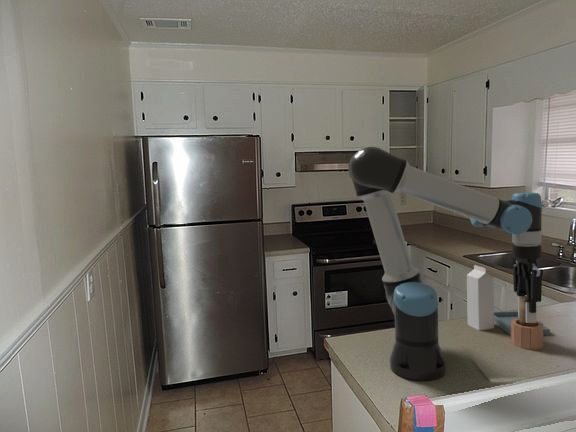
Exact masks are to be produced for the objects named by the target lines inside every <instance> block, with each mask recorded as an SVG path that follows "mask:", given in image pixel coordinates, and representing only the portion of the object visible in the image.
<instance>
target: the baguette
mask: <svg viewBox="0 0 576 432" xmlns="http://www.w3.org/2000/svg"><path fill="white" fill-rule="evenodd" d="M525 300H527V297H521V298H519V325H522V326H527V327H535V323H526V302H525Z"/></svg>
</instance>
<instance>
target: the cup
mask: <svg viewBox="0 0 576 432" xmlns="http://www.w3.org/2000/svg"><path fill="white" fill-rule="evenodd" d="M543 325H544V323H543V322H542V321H540V320H537V319H536V323H535V327H527V326H522V325H519V318H516V319H513V320H512V321H511V336H510V343H512V345H513V346H515V347H518V348H521V349H525V350H540V349H542V348H544V335H543Z"/></svg>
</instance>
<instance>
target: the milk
mask: <svg viewBox="0 0 576 432" xmlns="http://www.w3.org/2000/svg"><path fill="white" fill-rule="evenodd" d="M494 281H495V280H494V276H493V275H491V274H489V273H487V269H486V268H485V267H482V266H479V265H477V264H475V265H473V269H472V270H471V271H470V272H469V273H467V274H466V299H467V301H466V307H467V309H466V310H467V311H466V313H467V325H468V326H470V327H471V328H472V329H475V330H478V331H485V330H486V331H487V330H491V329H494V328H495V322H494V312H495V310H494V309H495V308H494V307H495V299H494V297H495V294H494V293H495V292H494V287H495V285H494Z"/></svg>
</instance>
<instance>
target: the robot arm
mask: <svg viewBox="0 0 576 432" xmlns="http://www.w3.org/2000/svg"><path fill="white" fill-rule="evenodd" d="M348 174H349V177H350V178H351V180H352V185H353V187H354V190H355V193H356V197H357V198H358V199H359V200H362V201H363V203H364V207H365V210H366V213H367V216H368V220H369V224H370V226H371V229H372V233H373V236H374V240H375V244H376V247H377V250H378V253H379V257H380V260H381V264H382V267H383V270H384V274H383V276H381V277H382V278H381V280H382V283H383V287H384V290H385V298H386V300H387V303H388V305H389V306H390V309H391V311H392V313H393V315H394V329H395V330H394V333H395V341H394V345H393V347H392V351H391V354H390V357H389V367H390V369H391V371H392V372H393V373H394V374H395V375H397V376H399V377H402V378H404V379H409V380H413V381H421V382H422V381H424V382H425V381H434V380H437V379H439V378H442V377H443V376H445V374H446V372H447V364H446V363H447V362H446V360H445V357H444V354H443V352H442V349H441V346H440V343H439V309H438V307H439V299H438V294H437V290H435V288H434V287H432V286H430V285H429V284H425V283H424V282H423V280H422V277H421V273H420V270H419V269H418V267H415V266H413V264H412V263H413V262H412V260H411V257H410V254H409V250H408V247H407V244H406V240H405V236H404V233H403V230H402V226H401V223H400V220H399V216H398V213H397V209H396V206H395V203H394V202H395V201H394V200H393V196H392V194H396V193H402V194H404V195H407V196H409V197H412V198H415V199H416V200H420V201H423V202H426V203H428V204H431V205H433V206H435V207H440V208H442V209H444V210H447V211H449V212H452V213H455V214H458V215H460V216H464V217H466V218H468V219H470V222H471V225H472V226H474V227H476V228H480V227H481V228H487V227H491V228H493V229H496V230H500V231H503V232H505V233H507V234H510V235H511V236H512V237H511V239H512V240H511V243H513V245H512V256H513V257H514V258H517V259H516V260H512V262H511V263H512V264H511V265H512V271H513V272H512V273H513V274H512V275H513V292H514V293H516V296H517V311H518V317H519V298H521V297H527V300H525V302H526V323H536V320H537V303H541V302H542V294H543V293H542V287H543V285H542V284H543V274H544V270H543V269H539V268H538V261H537V260H538V259H540V258H542V253H543V251H542V245H541V244H542V235H543V233H542V210H543V204H542V203H543V202H542V197H541V196H542V195H541V194H540V193H538V192H516V193H515V192H514V193H513V194H512V196H511V199H508V200H502V199H499V198H497V197H494V196H492V195H489V194H487V193H484V192H481V191H478V190H476V189H474V188H471V187H467V186H465V185H462V184H460V183H457V182H454V181H452V180H449V179H446V178H443V177H441V176H438V175H436V174H432V173H431V172H427V171H425V170H422V169H420V168H417V167H414V166H411V165H410V163H409V161H408V160H407V159H404V158H401V157H399V156H396V155H394V154H392V153H390V152H388V151H386V150H385V149H382V148H380V147H378V146H368V147H367V146H366V147H364V148H361V149H360V150H358V151H357V152H356V153H353V156H351V158H350V161H349V163H348Z"/></svg>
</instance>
